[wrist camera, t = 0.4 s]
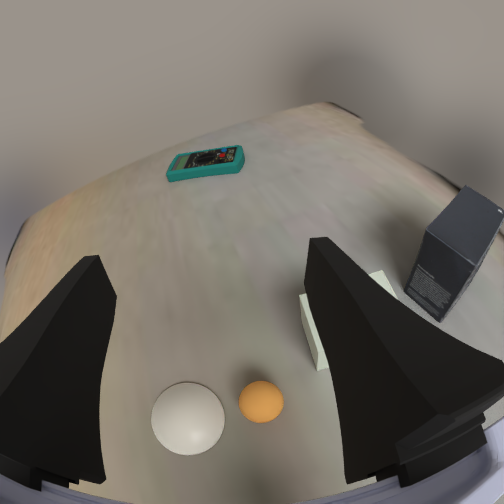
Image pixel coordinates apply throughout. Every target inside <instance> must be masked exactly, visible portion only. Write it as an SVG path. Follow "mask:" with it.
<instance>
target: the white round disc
mask: <svg viewBox="0 0 504 504" xmlns="http://www.w3.org/2000/svg"><path fill="white" fill-rule="evenodd" d="M151 423H152V428H153V431H154V433H155V436H156V437H157V439H158V440H159V442H160V443H161V444H162V445H163V446H164V447H166V448H167V449H169V450H170V451H172V452H175V453H177V454H181V455H196V454H200V453H203V452H205V451H207V450H208V449H210V448H211V447H212V446H214V445H215V444H216V442H217V441H218V440H219V438H220V437H221V435H222V432H223V429H224V424H225V415H224V410H223V407H222V404H221V402H220V401H219V399H218V398H217V396H216V395H215V394H214V393H213V392H212V391H210V390H209V389H207V388H206V387H204V386H202V385H199V384H196V383H180V384H176V385H173V386H171V387H169V388H168V389H166V390H165V391H164V392H163V393H162V394H161V395H160V396H159V397H158V399H157V400H156V402H155V404H154V406H153V409H152V415H151Z"/></svg>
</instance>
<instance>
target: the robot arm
mask: <svg viewBox="0 0 504 504" xmlns="http://www.w3.org/2000/svg"><path fill="white" fill-rule="evenodd" d="M304 285H305V290H306V295H307V299H308V304H309V308H310V311H311V314H312V317H313V320H314V323H315V326H316V329H317V332H318V335H319V338H320V341H321V343H322V346H323V349H324V352H325V355H326V358H327V361H328V365H329V368H330V372H331V376H332V381H333V386H334V391H335V396H336V402H337V408H338V414H339V421H340V428H341V436H342V445H343V457H344V474H345V479H346V483H347V484H351V483H354V482H357V481H361V480H364V479H367V478H370V477H373V476H376V480H377V482H376V483H373V484H370V485H367V486H364V487H360V488H357V489H354V490H350V491H347V492H343V493H339V494H335V495H331V496H327V497H323V498H318V499H313V500H308V501H303V502H297V503H291V504H493V503H494V502H495V501H496V500H497V499H498V498H499V497H500V496H501V495H502V494H504V416H503V417H502V418H500V419H499V420H497V421H496V422H495V423H493V424H492V425H490V426H489V427H487V428H486V429H484V430H483V428H482V425H481V424H482V423H484V422H485V420H486V419H485V416H484V413H483V412H484V411H485V410H487V409H488V408H489V407H491V406H492V405H493V404H495V403H496V402H497V401H498V400H500V399H501V398H502V397H503V396H504V363H503V362H502V360H499V359H497V358H495V357H493V356H490V355H488V354H486V353H484V352H481V351H479V350H477V349H475V348H473V347H471V346H469V345H467V344H465V343H463V342H461V341H459V340H458V339H456V338H454V337H452V336H451V335H449V334H447V333H445V332H444V331H442V330H441V329H439V328H437V327H436V326H434V325H433V324H431V323H429V322H428V321H426V320H425V319H423V318H422V317H421V316H419V315H418V314H416V313H415V312H414V311H412V310H411V309H410V308H408V307H407V306H405V305H404V304H403V303H401V302H400V301H399V300H398V299H396V298H395V297H394V296H393V295H391V294H390V293H389V292H388V291H387V290H385V289H384V288H383V287H382V286H381V285H379V284H378V283H377V282H376V281H375V280H374V279H373V278H371V277H370V276H369V275H368V274H367V273H366V272H365V271H364V270H363V269H361V268H360V267H359V266H358V265H357V264H356V263H355V262H354V261H353V260H352V259H351V258H350V257H349V256H347V255H346V254H345V253H344V252H343V251H342V250H341V249H340V248H339V247H338V246H337V245H336V244H335V243H334V242H333V241H331V240H330V239H329V238H328V237H319V238H310V242H309V250H308V257H307V265H306V272H305V279H304ZM116 299H117V295H116V293H115V291H114V289H113V287H112V285H111V282H110V280H109V278H108V276H107V273H106V271H105V269H104V266H103V264H102V262H101V259H100V257H99V255H93V256H84V257H83V258H82V259H81V260H80V261H79V262H78V263H77V264H76V265H75V266H74V267H73V268H72V269H71V270H70V271H69V272H68V273H67V274H66V275H65V276H64V277H63V278H62V279H61V280H60V282H59V283H58V284H57V285H56V286H55V287H54V288H53V289H52V290H51V291H50V293H49V294H48V295H47V296H46V297H45V298H44V299H43V300H42V301H41V302H40V304H39V305H38V306H37V307H36V308H35V309H34V310H33V311H32V312H31V313H30V315H29V316H28V317H27V318H26V319H25V320H24V321H23V322H22V323H21V324H20V325H19V326H18V327H17V328H16V329H15V330H14V331H13V332H12V333H11V334H10V335H9V336H8V337H7V338H6V339H5V340H4V341H3V342H1V343H0V504H132V503H127V502H121V501H116V500H111V499H106V498H102V497H98V496H94V495H90V494H86V493H82V492H79V491H75V490H72V489H69V482H70V483H74V484H77V485H78V484H79V479H80V480H84V481H88V482H92V483H97V484H101V483H103V482H104V481H105V480H106V475H105V470H104V465H103V458H102V452H101V441H100V424H99V404H100V385H101V378H102V372H103V367H104V362H105V357H106V353H107V348H108V344H109V340H110V335H111V331H112V327H113V322H114V315H115V308H116Z"/></svg>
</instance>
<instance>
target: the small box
mask: <svg viewBox="0 0 504 504" xmlns="http://www.w3.org/2000/svg"><path fill="white" fill-rule="evenodd" d="M503 221H504V210H503V209H502V208H500V207H499V206H497V205H496V204H495V203H493V202H492V201H490V200H489V199H487V198H486V197H484V196H483V195H481V194H479V193H478V192H476V191H475V190H473V189H472V188H470V187H468V186H467V185H465V186H464V187H463V188H462V190H461V191H460V192H459V193H458V194H457V196H456V197H455V198H454V199H453V200H452V201H451V202H450V204H449V205H448V206H447V207H446V208H445V209H444V210H443V211H442V212H441V213H440V214H439V215H438V217H437V218H436V219H435V220H434V221H433V222H432V223H431V224H430V225H429V226H428V227H427V228H426V231H425V234H424V237H423V240H422V243H421V246H420V249H419V252H418V255H417V258H416V261H415V264H414V266H413V269H412V271H411V274H410V277H409V279H408V282H407V284H406V287H405V289H404V292H405V293H406V294H407V295H408V296H410V297H411V298H412V299H413V300H414V301H415V302H416V303H417V304H419V305H420V306H421V307H422V308H423V309H424V310H425V311H427V312H428V313H429V314H430V315H431V316H432V317H433V318H434V319H436V320H437V321H438V322H439V323H441V322H442V321H443V320H444V318H445V317H446V316H447V315H448V313H449V312H450V311H451V309H452V308H453V307H454V305H455V304H456V303H457V301H458V300H459V298H460V297H461V295H462V294H463V293H464V291H465V290H466V289H467V287H468V286H469V284H470V283H471V281H472V279H473V277H474V276H475V274H476V273H477V271H478V269H479V267H480V266H481V264H482V262H483V260H484V258H485V256H486V254H487V252H488V250H489V248H490V246H491V245H492V243H493V241H494V239H495V237H496V235H497V233H498V231H499V229H500V227H501V225H502V223H503Z"/></svg>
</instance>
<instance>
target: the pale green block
mask: <svg viewBox="0 0 504 504" xmlns="http://www.w3.org/2000/svg"><path fill="white" fill-rule="evenodd" d="M368 275H369V276H370V277H371V278H373V279H374V280H375V281H376V282H377V283H378V284H379V285H381V286H382V287H383V288H384V289H385V290H387V291H388V292H389V293H390V294H391V295H393V296H394V297H395V298H396V299H398V298H397V296H396V295H395V293H394V291H393V289H392V287H391V285H390V283H389V281H388V279H387V278H386V276H385V274H384V272H383V270H381V271H378V272H375V273H371V274H368ZM299 297H300V308H301V320H302V325H303V328H304V331H305V334H306V337H307V340H308V344H309V347H310V350H311V353H312V356H313V360H314V363H315V366H316V369H317V371H319V370H323V369H326V368H329V365H328V361H327V358H326V355H325V352H324V349H323V346H322V343H321V341H320V338H319V335H318V332H317V329H316V326H315V323H314V320H313V317H312V314H311V311H310V308H309V304H308V299H307V295H306V294H302V295H299Z"/></svg>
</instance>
